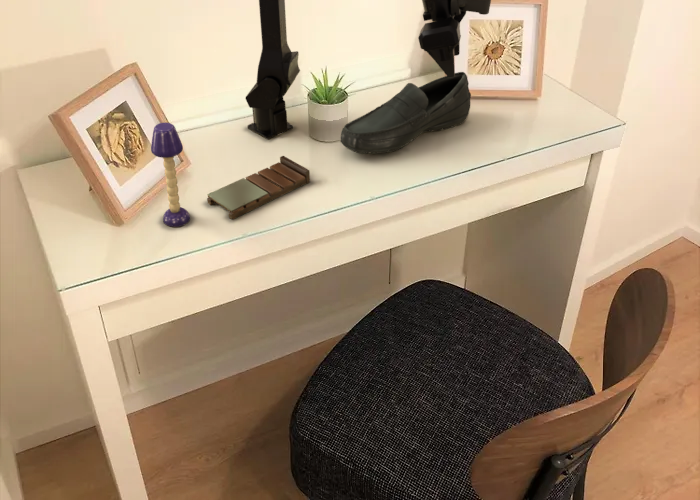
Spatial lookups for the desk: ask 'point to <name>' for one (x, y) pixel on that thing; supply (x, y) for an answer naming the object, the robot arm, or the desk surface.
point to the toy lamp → (170, 170)
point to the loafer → (410, 115)
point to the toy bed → (260, 187)
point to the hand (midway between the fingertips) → (454, 65)
